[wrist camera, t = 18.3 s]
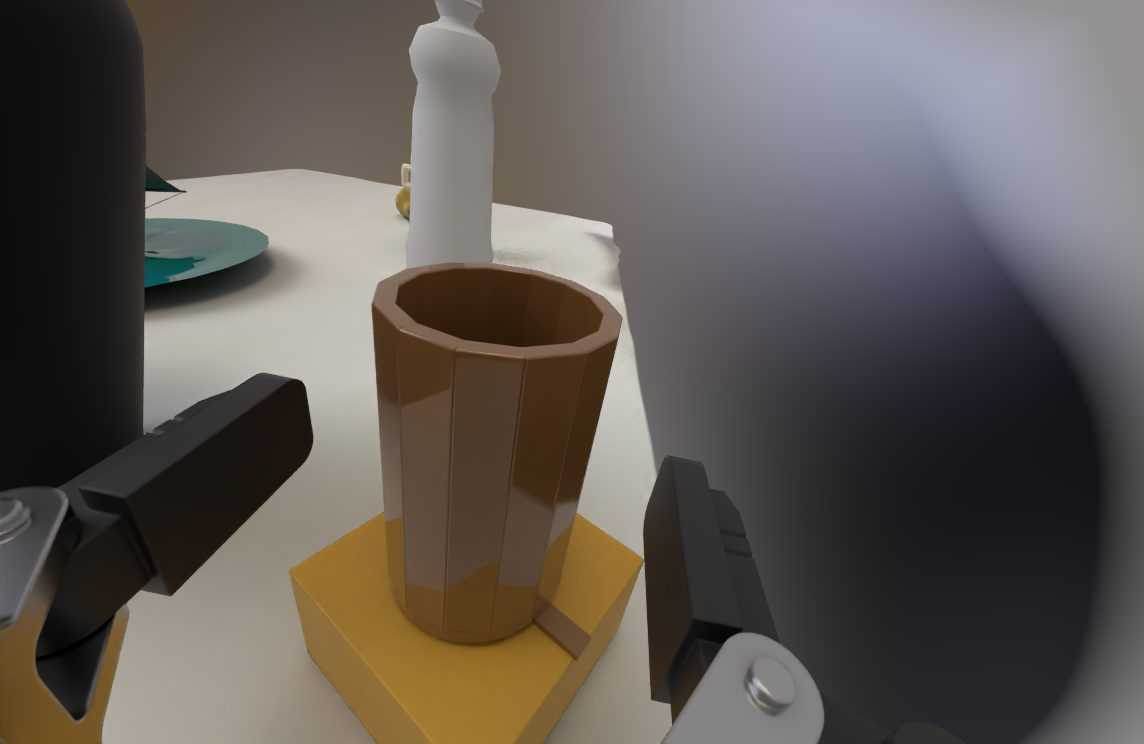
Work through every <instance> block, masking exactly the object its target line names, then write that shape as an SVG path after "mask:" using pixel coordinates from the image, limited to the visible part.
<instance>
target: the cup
mask: <svg viewBox="0 0 1144 744" xmlns="http://www.w3.org/2000/svg"><path fill="white" fill-rule="evenodd" d="M372 320H373V336H374V352H375V368H376V384H377V400H378V415H379V431H380V447H381V463H382V479H383V495H384V510H385V526H386V542H387V558H388V573H389V577H390V579H391V584H392V590H393V593H394V596H395V598H396V601H397V602H398V604H399V606H400V608H401V610H402V611H403V612H404V613H405V614H406V616H407V617H408V618H409V619H410V620H411V621H412V622H413V623H414V624H416V625H417V626H418V627H420V628H421V629H423V630H424V631H426V632H427V633H429V634H432V635H434V636H436V637H438V638H441V639H445V640H449V641H453V642H461V643H481V642H488V641H493V640H496V639H500V638H503V637H506V636H508V635H511V634H513V633H515V632H517V631H519V630H520V629H522V628H524V627H525V626H527V625H528V624H529V623H531V622H532V621H533V620H535V619H536V618H537V617H538V616H539V615H540V614H541V613H542V612H543V611H544V609H545V608H546V607H547V605H548V604H549V603H550V601H551V599H552V597H553V596H554V594H555V592H556V589H557V586H558V584H559V581H560V577H561V573H562V569H563V565H564V561H565V557H566V552H567V548H568V544H569V540H570V536H571V532H572V528H573V524H574V519H575V515H576V511H577V507H578V503H579V499H580V495H581V490H582V486H583V482H584V478H585V474H586V470H587V466H588V461H589V457H590V453H591V449H592V445H593V441H594V437H595V432H596V428H597V424H598V420H599V416H600V412H601V408H602V403H603V399H604V395H605V391H606V387H607V383H608V379H609V374H610V370H611V366H612V362H613V358H614V354H615V350H616V346H617V341H618V337H619V332H620V327H621V322H622V317H621V315H620V314H619V313H618V312H617V310H616V309H615V308H614V307H613V306H612V305H611V304H610V303H609V301H608V300H607V299H606V298H604V297H603V296H601V295H599V294H597V293H595V292H593V291H591V290H589V289H588V288H586V287H584V286H582V285H580V284H578V283H576V282H573V281H571V280H567V279H564V278H561V277H557V276H554V275H550V274H547V273H544V272H540V271H537V270H533V269H526V268H519V267H513V266H506V265H499V264H490V263H441V264H434V265H428V266H421V267H414V268H408V269H405V270H403V271H401V272H399V273H397V274H395V275H393V276H391V277H388V278H386V279H384V280H382V281H380V282H379V283H378V285H377V288H376V291H375V294H374V298H373V301H372Z"/></svg>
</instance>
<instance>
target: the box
mask: <svg viewBox="0 0 1144 744" xmlns="http://www.w3.org/2000/svg"><path fill="white" fill-rule="evenodd" d="M643 561H644V559H643V558H641V557H640V556H639V555H637V554H636V553H634V552H633V551H631V550H630V549H628V548H627V547H625V546H624V545H622V544H621V543H620V542H618V541H617V540H615V539H614V538H612V537H611V536H609V535H608V534H606V533H605V532H603V531H602V530H601V529H599V528H598V527H596V526H595V525H593V524H592V523H590V522H589V521H587V520H586V519H584V518H583V517H582V516H580V515H579V514H577V513H576V515H575V519H574V524H573V528H572V532H571V536H570V540H569V544H568V548H567V552H566V557H565V561H564V565H563V569H562V573H561V577H560V581H559V584H558V586H557V589H556V592H555V594H554V596H553V597H552V599H551V601H550V603H549V604H548V605H547V607H546V608H545V609H544V611H543V612H542V613H541V614H540V615H539V616H538V617H537V618H536V619H535V620H533V621H532V622H531V623H529V624H528V625H527V626H525V627H524V628H522V629H520V630H519V631H517V632H515V633H513V634H511V635H508V636H506V637H503V638H500V639H496V640H493V641H488V642H481V643H461V642H453V641H449V640H445V639H441V638H438V637H436V636H434V635H432V634H429V633H427V632H426V631H424V630H423V629H421V628H420V627H418V626H417V625H416V624H414V623H413V622H412V621H411V620H410V619H409V618H408V617H407V616H406V614H405V613H404V612H403V611H402V610H401V608H400V606H399V604H398V602H397V601H396V598H395V596H394V593H393V590H392V584H391V579H390V577H389V573H388V558H387V542H386V526H385V512H383V513H382V514H380V515H378V516H377V517H375V518H373V519H372V520H370V521H369V522H367V523H365V524H364V525H362V526H360V527H359V528H357V529H356V530H354V531H352V532H351V533H349V534H347V535H346V536H344V537H342V538H341V539H339V540H338V541H336V542H334V543H333V544H331V545H329V546H328V547H326V548H325V549H323V550H321V551H320V552H318V553H316V554H315V555H313V556H311V557H310V558H308V559H307V560H305V561H303V562H302V563H300V564H298V565H297V566H295V567H294V568H292V569H290V570H289V574H290V578H291V582H292V587H293V591H294V595H295V599H296V603H297V608H298V612H299V616H300V620H301V625H302V629H303V633H304V637H305V641H306V646H307V650H308V653H309V654H310V655H311V657H312V658H313V659H314V661H315V662H316V663H317V665H318V666H319V667H320V669H321V670H322V671H323V673H324V674H325V675H326V677H327V678H328V679H329V680H330V682H331V683H332V684H333V686H334V687H335V688H336V690H337V691H338V692H339V694H340V695H341V696H342V698H343V699H344V700H345V702H346V703H347V704H348V706H349V707H350V708H351V710H352V711H353V712H354V713H355V715H356V716H357V717H358V719H359V720H360V721H361V723H362V724H363V725H364V727H365V728H366V729H367V731H368V732H369V733H370V735H371V736H372V737H373V739H374V740H375V741H376V743H377V744H544V742H545V741H546V739H547V738H548V736H549V734H550V733H551V731H552V730H553V728H554V727H555V725H556V724H557V722H558V721H559V719H560V718H561V716H562V715H563V713H564V712H565V710H566V708H567V707H568V705H569V704H570V702H571V701H572V699H573V698H574V696H575V695H576V693H577V692H578V690H579V689H580V687H581V685H582V684H583V682H584V681H585V679H586V678H587V676H588V675H589V673H590V672H591V670H592V669H593V667H594V666H595V664H596V663H597V661H598V659H599V658H600V656H601V655H602V653H603V652H604V650H605V649H606V647H607V646H608V644H609V643H610V641H611V640H612V638H613V636H614V635H615V633H616V632H617V630H618V627H619V625H620V622H621V619H622V617H623V614H624V611H625V609H626V606H627V604H628V601H629V598H630V596H631V593H632V590H633V588H634V585H635V582H636V580H637V577H638V574H639V572H640V569H641V566H642V564H643Z"/></svg>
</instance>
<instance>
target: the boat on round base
mask: <svg viewBox="0 0 1144 744" xmlns="http://www.w3.org/2000/svg"><path fill="white" fill-rule="evenodd" d="M145 191H155V192H182V193H183V192H186V191H182V190H179V189H177V188H176V187H174V186H172V185H171V184H169V183H168V182H166V181H164V180H163V179H162V178H160V177H159V176H158V175H157V174H155V173H154V172H153V171H152V170H151V169H149V168H148V167H147V166H146V176H145ZM179 194H180V193H179ZM177 195H178V194H177ZM175 196H176V195H175ZM172 197H173V196H172ZM170 198H171V197H170ZM168 199H169V198H168ZM165 200H166V199H165ZM163 201H164V200H163ZM161 202H162V201H161ZM158 203H160V202H158ZM156 204H157V203H156ZM154 205H155V204H154ZM151 206H153V205H151ZM149 207H150V206H149ZM147 208H148V207H147ZM145 209H146V208H145ZM268 244H269V241H268V236H266V235H265V234H263V233H262V232H260V231H259V230H256V229H253V228H250V227H247V226H244V225H238V224H232V223H226V222H219V221H210V220H197V219H167V218H154V219H145V284H144V287H149V286H154V285H159V284H163V283H168V282H173V281H178V280H183V279H188V278H193V277H196V276H200V275H203V274H207V273H210V272H214V271H217V270H221V269H224V268H227V267H230V266H233V265H236V264H239V263H241V262H244V261H246V260H248V259H250V258H253V257H255V256H256V255H258V254H260V253H261V252H262V251H263V250H264V249H266V247H267V246H268Z"/></svg>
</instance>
